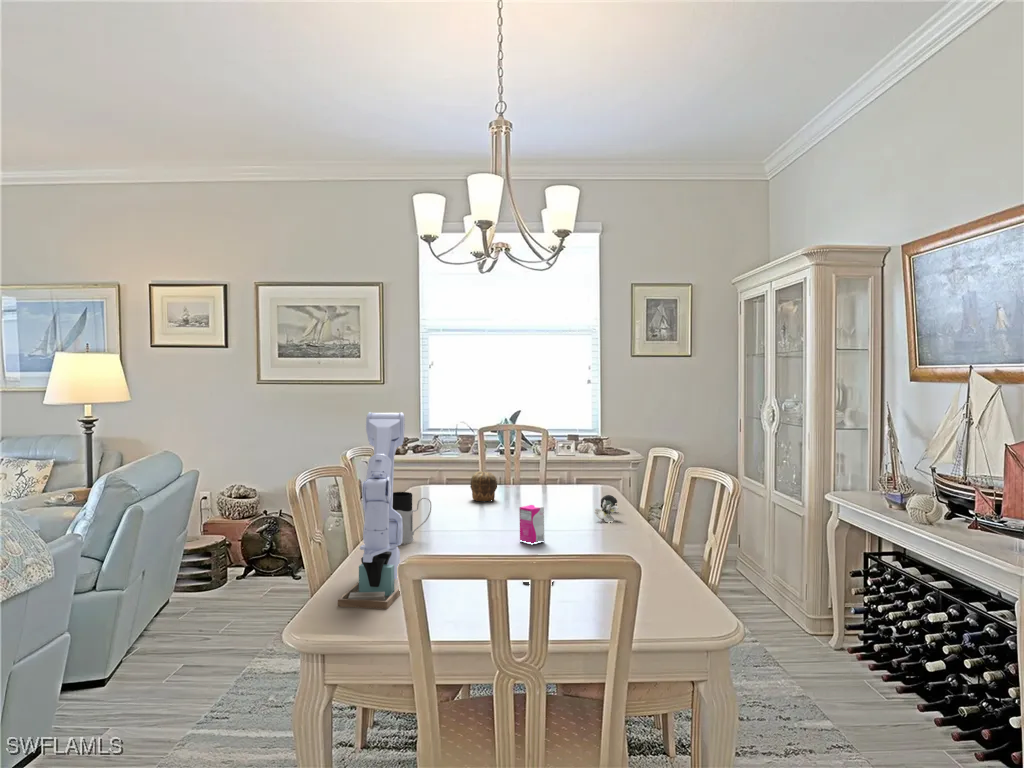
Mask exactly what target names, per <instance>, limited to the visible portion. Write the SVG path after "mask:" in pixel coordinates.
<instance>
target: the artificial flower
mask: <svg viewBox="0 0 1024 768" xmlns="http://www.w3.org/2000/svg"><path fill="white" fill-rule="evenodd" d="M600 508H601V509H600ZM600 508H595V509H594V510H593V511H594V515H595V516H596V517H597V518H598V519H599V520H604V522H606V523H607V522H609V521H613V522H614V521H615V520H614V519H615V518H614V517H613V516H612V515H611V514H613V513H616V511H617V510H618V509H619V506H618V500H617V498H616V497H614V496H613V495H610V494H607V495H604V496H603V497H602V498H601V499H600ZM610 513H611V514H610Z"/></svg>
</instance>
